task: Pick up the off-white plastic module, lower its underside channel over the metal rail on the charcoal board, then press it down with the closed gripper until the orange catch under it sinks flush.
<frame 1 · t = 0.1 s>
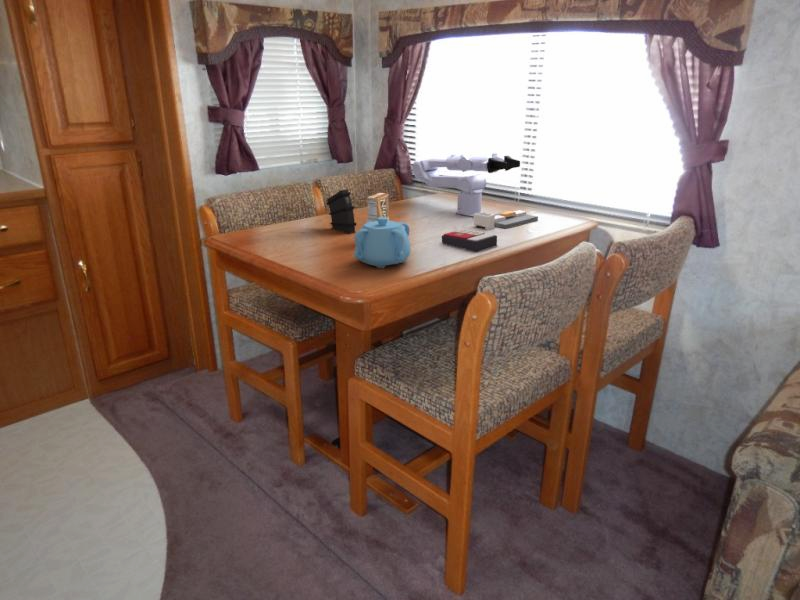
hand: (513, 164, 211), 22 cm above the table, tool horizontal, fingers open, 7 cm apart
rail board: (507, 221, 219), on the table
module: (483, 227, 211), on the table
decorative pot: (383, 263, 170), on the table
candy box: (378, 240, 195), on the table
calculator: (468, 246, 189), on the table
catch: (507, 214, 218), point 3 cm above the table, slide at 0.0 cm
black ribbed block: (341, 230, 208), on the table
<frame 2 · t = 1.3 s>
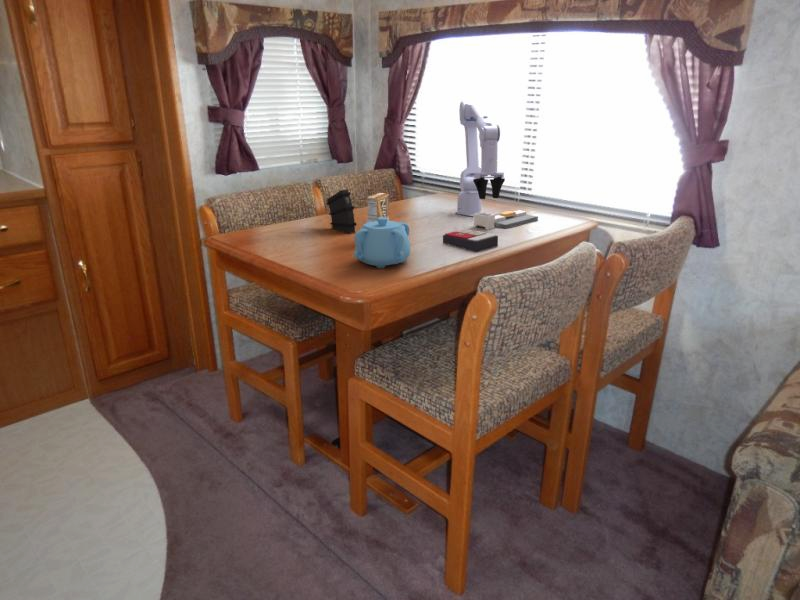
hand: (489, 198, 207), 11 cm above the table, tool pointing down, fingers open, 7 cm apart
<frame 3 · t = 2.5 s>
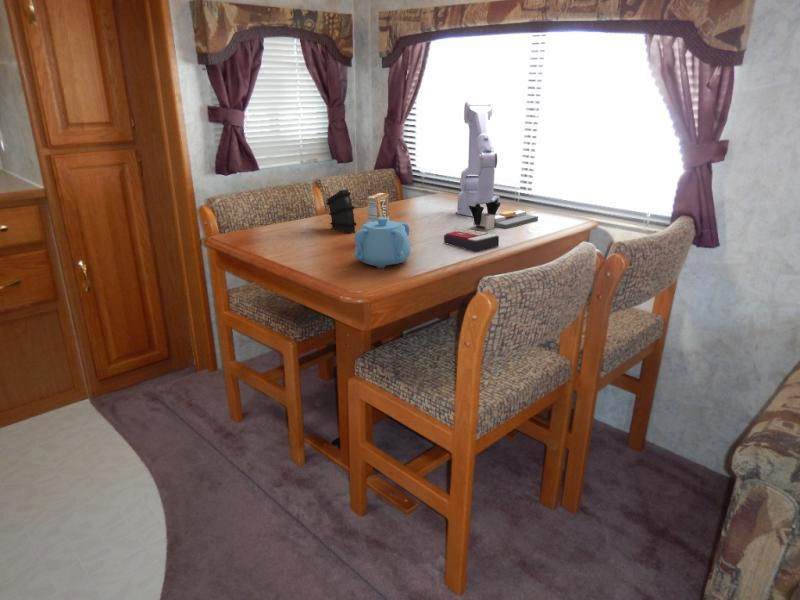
hand: (483, 223, 210), 2 cm above the table, tool pointing down, fingers open, 7 cm apart
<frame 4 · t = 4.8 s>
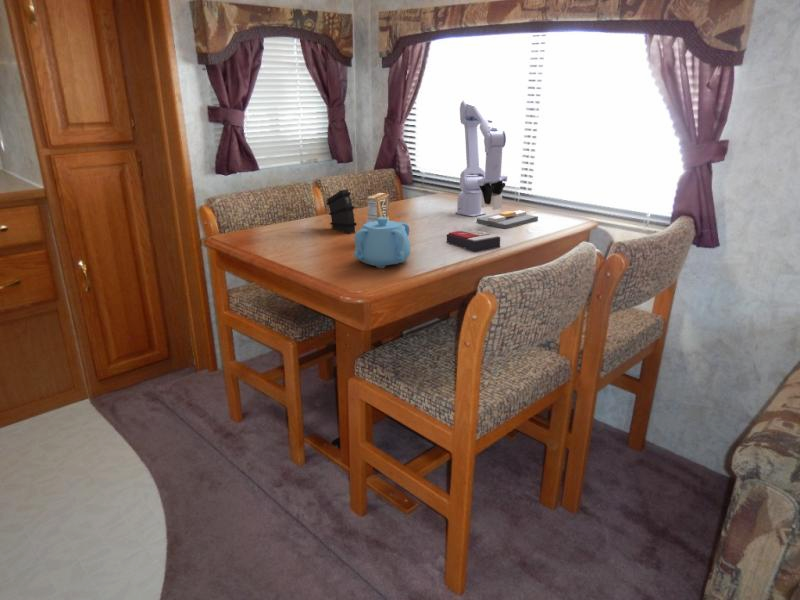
hand: (491, 203, 210), 9 cm above the table, tool pointing down, fingers closed on module, 4 cm apart
module: (491, 207, 211), point 7 cm above the table, touching gripper
when the fingers open (5 cm above the table, at t = 6.4 s): module drops 1 cm, resting on catch.
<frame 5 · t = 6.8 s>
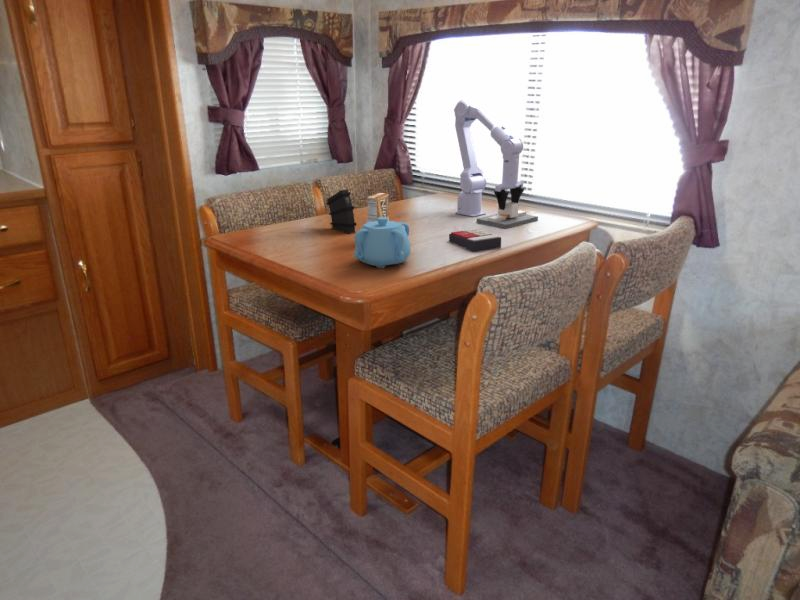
hand: (508, 208, 217), 5 cm above the table, tool pointing down, fingers open, 7 cm apart
module: (507, 215, 218), point 2 cm above the table, touching catch
catch: (507, 214, 218), point 3 cm above the table, slide at 0.3 cm, touching module
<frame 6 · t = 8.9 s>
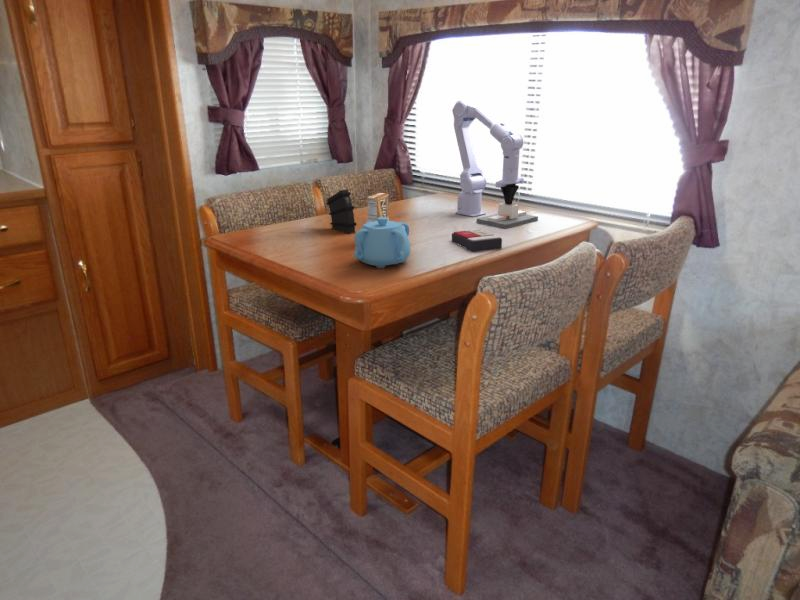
hand: (508, 204, 217), 7 cm above the table, tool pointing down, fingers closed, pressing on module
module: (507, 216, 219), point 2 cm above the table, touching catch, gripper
catch: (507, 216, 219), point 2 cm above the table, slide at 0.8 cm, touching module, rail board
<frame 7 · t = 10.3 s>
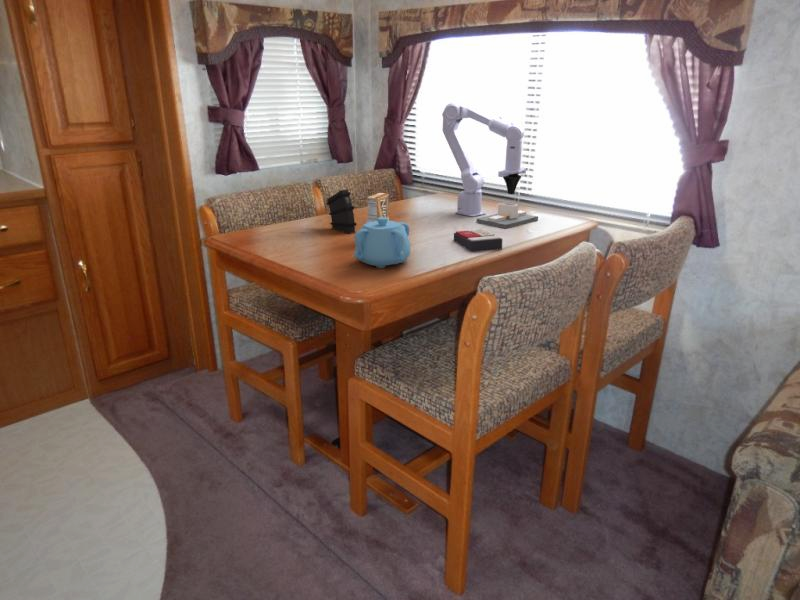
hand: (511, 193, 223), 9 cm above the table, tool pointing down, fingers closed
module: (507, 216, 219), point 2 cm above the table, touching catch
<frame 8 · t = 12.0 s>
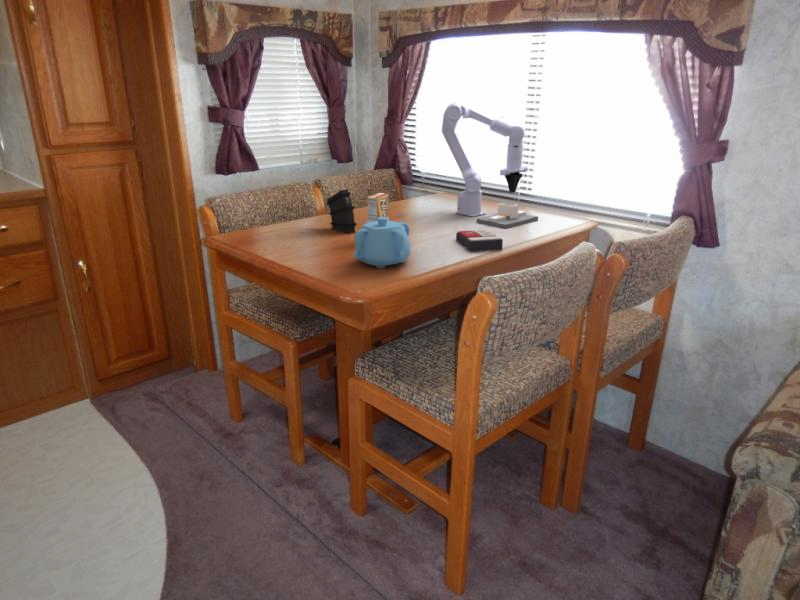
hand: (512, 191, 226), 9 cm above the table, tool pointing down, fingers closed
at the end: catch slide at 0.8 cm; module 0.1 cm off-centre on the rail board, point 1.8 cm above the rail board's base; module tilted 0° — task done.
